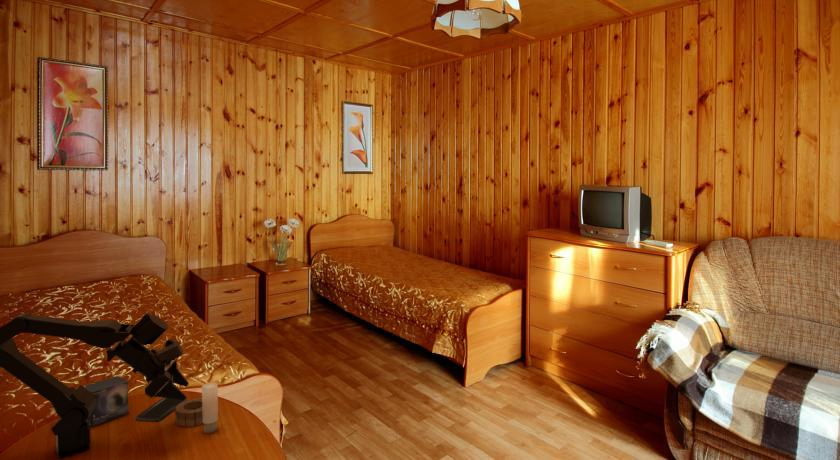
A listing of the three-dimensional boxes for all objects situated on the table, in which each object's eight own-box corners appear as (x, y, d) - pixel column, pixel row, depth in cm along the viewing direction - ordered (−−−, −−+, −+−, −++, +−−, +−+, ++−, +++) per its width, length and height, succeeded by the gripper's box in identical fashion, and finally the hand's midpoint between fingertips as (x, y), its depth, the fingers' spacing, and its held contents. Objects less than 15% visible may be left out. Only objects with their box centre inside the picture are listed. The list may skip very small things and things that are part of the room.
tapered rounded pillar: (205, 435, 134) (204, 389, 133) (200, 430, 137) (199, 385, 136) (220, 430, 137) (219, 386, 136) (214, 425, 140) (214, 381, 138)
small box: (91, 428, 136) (89, 392, 135) (79, 422, 140) (78, 387, 139) (130, 414, 145) (129, 380, 144) (118, 408, 149) (117, 375, 148)
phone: (133, 418, 141) (165, 395, 156) (134, 421, 141) (165, 399, 156) (159, 420, 141) (189, 397, 155) (159, 423, 141) (189, 400, 156)
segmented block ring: (182, 430, 137) (182, 416, 136) (171, 417, 143) (171, 404, 143) (216, 419, 143) (216, 406, 143) (204, 408, 150) (204, 395, 150)
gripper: (158, 344, 121) (207, 381, 126) (166, 324, 139) (209, 357, 144) (122, 379, 119) (174, 415, 124) (135, 354, 136) (180, 387, 142)
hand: (186, 391), depth 134 cm, fingers open, 9 cm apart
